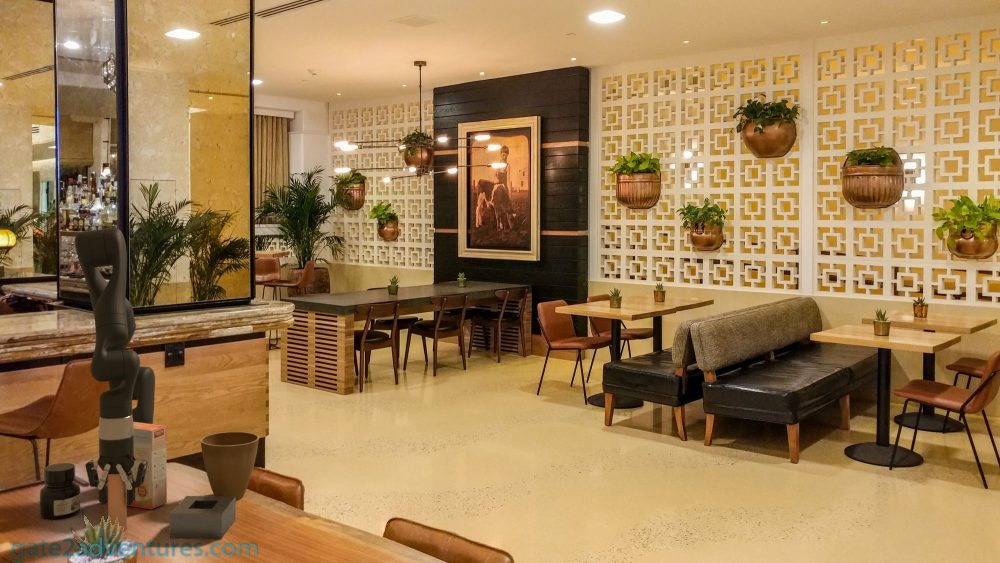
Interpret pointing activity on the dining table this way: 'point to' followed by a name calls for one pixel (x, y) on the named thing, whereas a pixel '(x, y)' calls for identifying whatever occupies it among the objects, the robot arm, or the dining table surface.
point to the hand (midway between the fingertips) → (117, 503)
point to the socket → (203, 517)
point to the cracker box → (150, 465)
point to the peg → (117, 500)
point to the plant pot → (229, 461)
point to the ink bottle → (59, 492)
